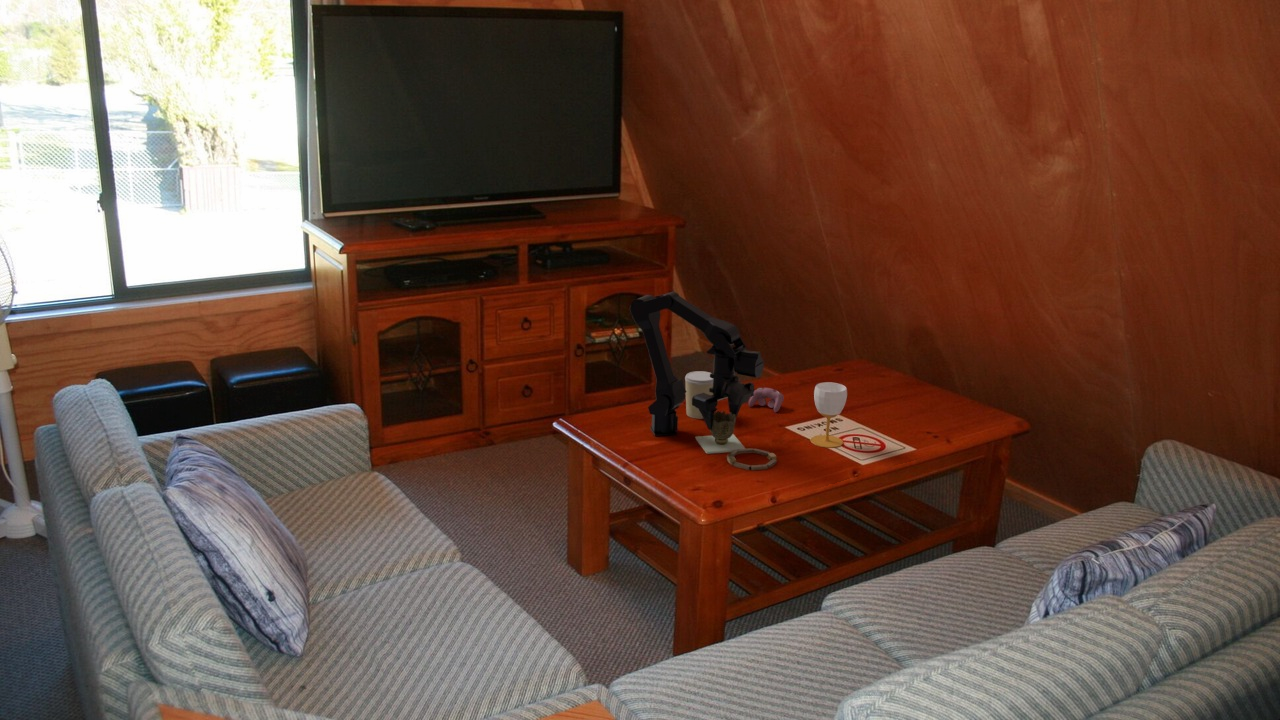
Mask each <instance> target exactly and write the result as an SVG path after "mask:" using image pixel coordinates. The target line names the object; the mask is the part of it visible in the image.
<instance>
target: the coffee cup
mask: <svg viewBox="0 0 1280 720" xmlns="http://www.w3.org/2000/svg"><path fill="white" fill-rule="evenodd" d="M711 373H712V372H710V371H709V372H708V371H705V370H704V371H703V370H702V371H700V370H699V371H690V372H688V373H686V375H685V377H684V380H685V390H686V391H687V392H686V393H685V407H686V408H685V411H686V416H687V417H689V418H691V419H699V420H700V419H701V420H704V419H703V416H702V414H701V413H700V411H699V409H698V408H696V407H695V406H693V405H692V397H694V396H695V395H698V394H701V393H705V394H708V395H713V393H711V392H709V388H712V387H713V378H710V374H711Z"/></svg>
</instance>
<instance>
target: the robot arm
mask: <svg viewBox="0 0 1280 720" xmlns="http://www.w3.org/2000/svg"><path fill="white" fill-rule="evenodd" d="M663 310H669V311H670V312H672V313H673V314H675V315H676V316H677V317H679V318H681V319H682V320H684V321H685V322H687V323H689V324H690V325H692V326H693V327H695V328H696V329H698V330H699V331H700V332H702V333H703V334H704V336H705V338H706V339H707V340H708V342H709V343H710V344H712V346H710V347H711V348H709V349H707V351H706V354H709V355H713V372H710V373H711V374H710V378H713V387H712V388H709V392H711V393H713V395H708V394H705V393H701V394H698V395H695V396H694V397H692V405H693V406H695V407H696V408H698V409H699V411H700V413H701V414H702V416H703V419H702V420H704V423H705V425H706V428H707V429H708V430H709V431H710V430H712V426H713V417H714V413H716V412H717V411H718V407H717V406H718V404H719V403H718V402H719V401H722V400H726V399H727V401H728V403H727V404H728V412H729V413H730V412H731V413H732V414H735V417H736V418H738V417H737V416H738V415H739V412H740V409H741V408H742V405H743V404H749V400H750V398H751V397H752V396H754V391H755V384H754V383H752V382H746V383H744V382H740V381H739V375H741V376H746V377H752V378H754V379H755V378H756V379H758V378H760V377H761V376H762V374H763V370H764V366H765V362H764V359H763V357H762V356H761V355H762V352H761V351H756V350H755V351H752V350H747V349H748V347H747V345H746V343H745V342H744V340H743V339H742V336H741V335H740V331H739V328H738V327H737V326H736V325H735V324H733V323H731V322H728V321H726V320H723V319H719V318H716V317H713V316H711V315H710V314H708V313H706V312H705V311H703V310H701V309H700V308H699V307H697V306H695V305H694V304H693V303H691V302H689V301H688V300H686V299H685V298H683V297H682V296H680V295H679V293H678V292H675V291H670V292H667V293H665V294H660V295H655V296H654V295H651V294H646V295H643V296H641V297H638V298H637V299H636V298H635V299H634V300H632V302H631V304H630V306H629V312H630V314H631V316H632V319H633V321H634V323H635V325H636V326H638V328H639V329H640V331H642V333H643V334H642V335H643V337H644V340H645V344H646V347H647V350H648V354H649V358H650V362H651V366H652V368H653V372H654V375H655V378H656V382H655V390H654V392H655V400H654V401H653V402H651V404H650V405H649V406H648V407H647V408H648V412H649V414H650V415H651V426H649V428H650V431H651V432H652V434H653V435H654V436H655V437H659V436H660V437H663V436H664V437H665V436H675V435H676V436H678V432H677V431H678V430H679V429H678V428H679V427H678V426H679V423H678V422H679V417H678V415H677V411H676V410H678V409H679V408H680V405H681V404H683V403H684V402H685V400H686V392H687V391H686V387H685V386H684V379H683V378H680V379H678V378H677V377H676V376H675V375H674V372H673V369H672V365H671V362H670V359H669V356H668V352H667V348H666V345H665V341H664V337H663V334H662V332H661V327H660V323H661V322H660V320H661V311H663ZM733 345H734V347H732V346H733ZM735 373H736V374H735Z"/></svg>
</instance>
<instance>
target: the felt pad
mask: <svg viewBox="0 0 1280 720" xmlns="http://www.w3.org/2000/svg"><path fill="white" fill-rule="evenodd" d="M695 440H696V442H697V443H698V444H699V446H700V447H701V448H702V449H703V451H704V452H705V453H706V454H721V453H722V454H724V453H731V452H732V451H734V450H737V449H746V447H745V446H744V445H743V444H742V442H741V441H740V440H739V439H738V438H737V437H736V435H735V434H734V433H733V434H732V436H731V437H730V438H728V442H727V443H726V444H723V445H721V444H717V443H716V442H715V438H714V437H713V436H712V435H700V436H695Z"/></svg>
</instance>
